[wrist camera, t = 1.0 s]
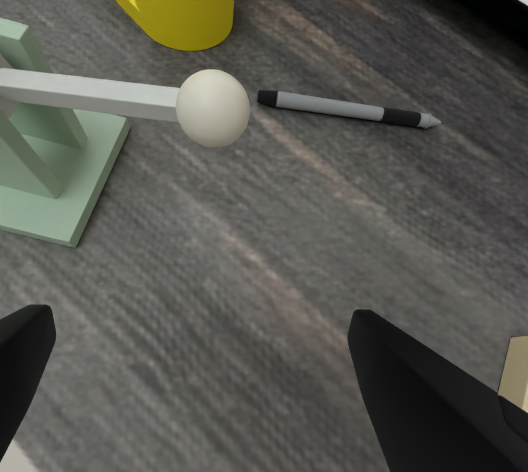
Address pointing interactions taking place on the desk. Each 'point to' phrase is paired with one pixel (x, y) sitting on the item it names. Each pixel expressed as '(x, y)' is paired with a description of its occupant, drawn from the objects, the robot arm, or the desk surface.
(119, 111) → the lever
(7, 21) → the bracket
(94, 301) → the desk surface
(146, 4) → the crank
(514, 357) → the button box
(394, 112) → the pen
